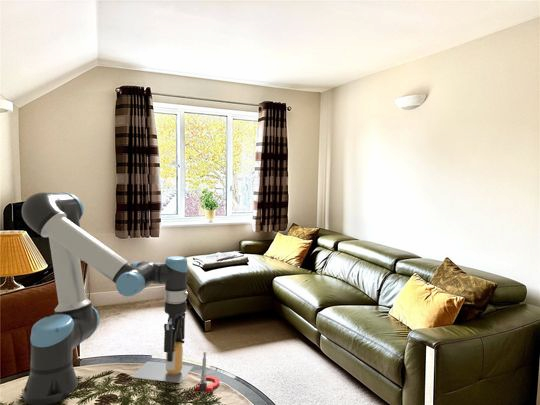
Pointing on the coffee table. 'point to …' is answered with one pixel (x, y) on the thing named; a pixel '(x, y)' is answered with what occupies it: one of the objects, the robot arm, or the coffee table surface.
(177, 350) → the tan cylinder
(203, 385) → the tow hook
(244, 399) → the coffee table surface
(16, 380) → the coffee table surface
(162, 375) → the board
